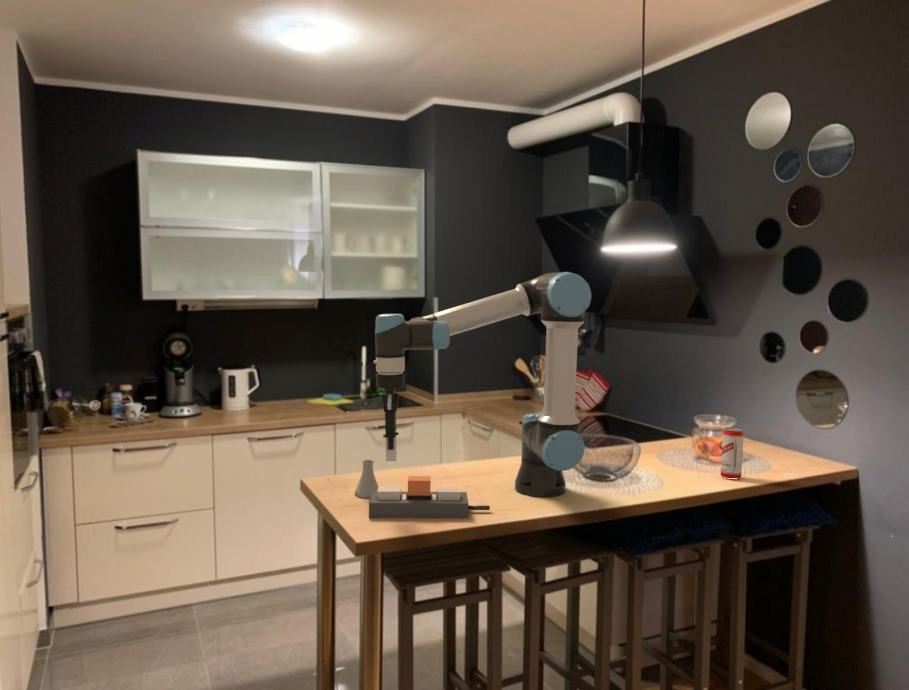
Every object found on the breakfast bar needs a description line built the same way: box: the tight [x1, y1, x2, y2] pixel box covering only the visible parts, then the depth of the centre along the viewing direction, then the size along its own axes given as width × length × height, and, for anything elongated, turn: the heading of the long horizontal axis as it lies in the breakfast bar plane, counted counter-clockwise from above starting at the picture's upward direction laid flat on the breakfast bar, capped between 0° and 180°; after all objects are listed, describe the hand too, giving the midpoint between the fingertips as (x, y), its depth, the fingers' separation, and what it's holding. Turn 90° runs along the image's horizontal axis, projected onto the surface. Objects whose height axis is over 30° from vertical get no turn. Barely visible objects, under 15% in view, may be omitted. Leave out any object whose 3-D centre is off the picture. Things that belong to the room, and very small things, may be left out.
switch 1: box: [377, 486, 402, 500], centre depth 191 cm, size 6×4×4 cm
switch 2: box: [407, 475, 431, 496], centre depth 191 cm, size 6×4×4 cm
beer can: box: [720, 427, 744, 479], centre depth 230 cm, size 6×6×16 cm
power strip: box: [368, 491, 491, 519], centre depth 192 cm, size 32×10×4 cm, turn 92°
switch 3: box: [437, 486, 462, 500], centre depth 192 cm, size 6×4×4 cm
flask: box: [353, 459, 379, 499], centre depth 206 cm, size 7×7×10 cm
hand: (391, 460), depth 190 cm, fingers closed
